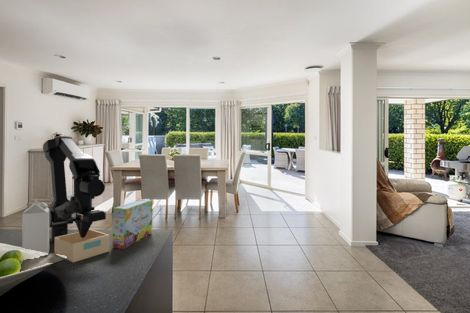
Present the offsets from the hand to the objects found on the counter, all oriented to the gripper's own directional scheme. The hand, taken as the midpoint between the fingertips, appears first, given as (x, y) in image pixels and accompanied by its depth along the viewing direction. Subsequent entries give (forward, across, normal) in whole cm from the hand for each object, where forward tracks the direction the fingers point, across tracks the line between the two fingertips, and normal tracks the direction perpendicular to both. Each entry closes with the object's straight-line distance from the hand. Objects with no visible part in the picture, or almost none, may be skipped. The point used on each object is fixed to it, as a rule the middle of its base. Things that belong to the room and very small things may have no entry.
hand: (82, 237), depth 106 cm
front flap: (+6, +6, 0) cm, 8 cm away
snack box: (+6, +2, +20) cm, 21 cm away
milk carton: (+6, -11, -10) cm, 16 cm away
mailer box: (+6, 0, 0) cm, 6 cm away
